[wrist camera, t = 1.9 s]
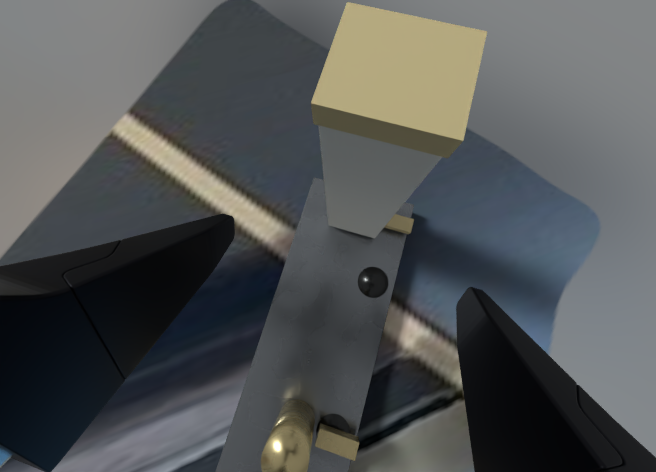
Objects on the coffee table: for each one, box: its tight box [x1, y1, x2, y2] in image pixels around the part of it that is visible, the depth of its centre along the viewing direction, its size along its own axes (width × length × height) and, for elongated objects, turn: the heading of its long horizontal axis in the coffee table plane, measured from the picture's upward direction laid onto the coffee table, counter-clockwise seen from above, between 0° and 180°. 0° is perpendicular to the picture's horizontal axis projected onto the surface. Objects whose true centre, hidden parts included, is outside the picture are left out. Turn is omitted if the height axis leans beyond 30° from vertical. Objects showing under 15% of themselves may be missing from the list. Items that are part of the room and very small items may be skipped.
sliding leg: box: [311, 2, 487, 239], centre depth 12 cm, size 3×6×13 cm, turn 73°
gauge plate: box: [216, 178, 414, 472], centre depth 16 cm, size 21×8×6 cm, turn 163°
